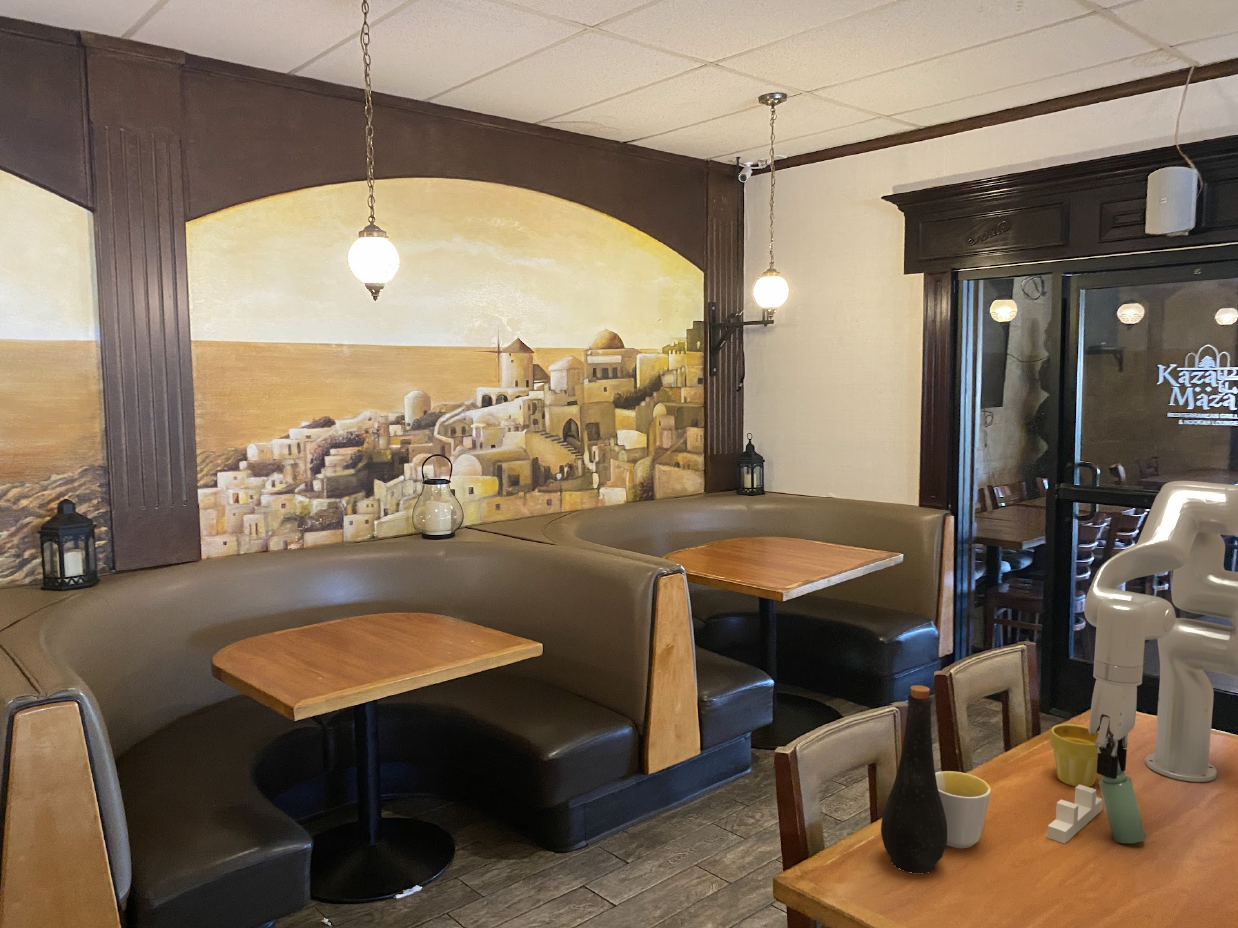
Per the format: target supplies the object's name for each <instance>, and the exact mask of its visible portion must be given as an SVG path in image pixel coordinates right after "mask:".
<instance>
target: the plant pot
mask: <svg viewBox="0 0 1238 928" xmlns="http://www.w3.org/2000/svg"><path fill="white" fill-rule="evenodd" d="M1098 734H1099V731H1098V732H1097V733H1096V734H1094V735H1091V734H1090V733H1089V726H1085V725H1080V724H1072V723H1063V724H1062V723H1060V724H1056V725H1054V726H1052V728H1051V729H1050V736H1049V737H1050V738H1049V739H1050V740H1049V742H1050V743H1049V744H1050V747H1051V748H1052V749H1053V755H1054V762H1055V768H1056V776H1057V778H1058V780H1060V781H1061V782H1062V783H1064V784H1067V785H1070V786H1073V787H1077V786H1078V785H1079V784H1080V785H1083V786H1086V787H1089V788H1091V787H1092V786H1094V784H1095V781H1096V777H1097V775H1098V774H1097V758H1098V748H1097V747H1096V745H1095V741H1096V740H1097V738H1098Z"/></svg>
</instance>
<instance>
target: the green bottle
mask: <svg viewBox="0 0 1238 928" xmlns="http://www.w3.org/2000/svg"><path fill="white" fill-rule="evenodd" d="M1096 742H1097V740H1096V741H1095V745H1096V747H1097V748H1098V745H1097V744H1096ZM1107 742H1108V743H1110V744H1111V746H1112V743H1113V742H1111V741H1107ZM1116 756H1117V755H1116ZM1098 785H1099V790H1100V793H1101V797H1102V799H1103V800H1102V802H1103V804H1104V805H1103V806H1104V809H1105V813H1106V817H1107V820H1108V824H1109V828H1110V831H1111V835H1112V839H1113V841H1115V842H1116V843H1121V844H1137V843H1140V842H1142V841H1144V840H1145V839H1147V837H1146V836H1147V835H1146V832H1145V829H1144V828H1145V827H1144V825H1143V820H1142V817H1141V813H1140V808H1139V804H1138V800H1137V797H1136V793H1135V789H1134V786H1133V782H1132V779H1131V777H1129V776H1126V772H1125V771H1121V768H1120V764H1119V760H1118V773H1117V778H1116V779H1113V778H1109V777H1106V776H1103V775H1101V778H1100V779H1098Z"/></svg>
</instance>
